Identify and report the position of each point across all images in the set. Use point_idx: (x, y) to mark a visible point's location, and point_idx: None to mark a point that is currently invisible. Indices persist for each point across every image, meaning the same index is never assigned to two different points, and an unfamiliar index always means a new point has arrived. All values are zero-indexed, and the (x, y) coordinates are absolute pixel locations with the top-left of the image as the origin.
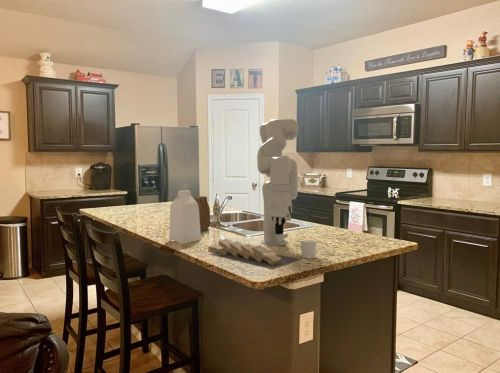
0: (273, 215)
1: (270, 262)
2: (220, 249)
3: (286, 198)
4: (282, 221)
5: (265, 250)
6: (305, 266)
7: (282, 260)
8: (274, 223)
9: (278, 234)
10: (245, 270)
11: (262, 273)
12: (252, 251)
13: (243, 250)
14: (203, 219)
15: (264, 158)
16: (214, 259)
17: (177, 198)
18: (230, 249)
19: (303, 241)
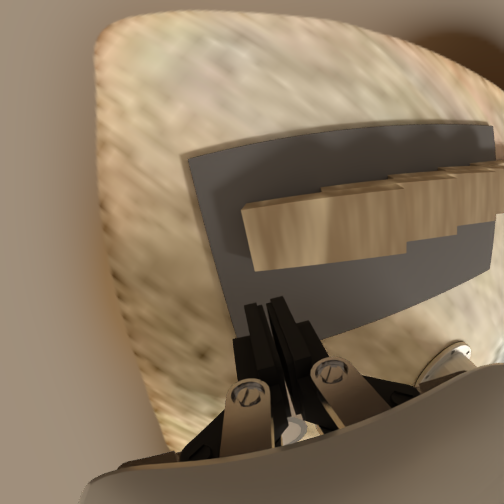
0: (363, 437)
1: (260, 202)
2: (496, 163)
3: None
4: (220, 433)
5: (351, 242)
6: (169, 322)
7: (284, 292)
8: (336, 361)
9: (244, 305)
10: (273, 65)
11: (183, 96)
12: (390, 184)
13: (432, 176)
14: None
15: None
16: (458, 100)
17: None
18: (475, 168)
19: (298, 428)
